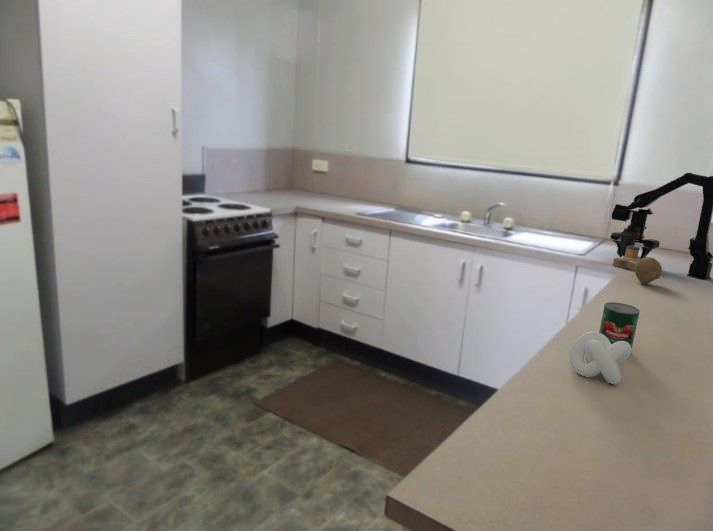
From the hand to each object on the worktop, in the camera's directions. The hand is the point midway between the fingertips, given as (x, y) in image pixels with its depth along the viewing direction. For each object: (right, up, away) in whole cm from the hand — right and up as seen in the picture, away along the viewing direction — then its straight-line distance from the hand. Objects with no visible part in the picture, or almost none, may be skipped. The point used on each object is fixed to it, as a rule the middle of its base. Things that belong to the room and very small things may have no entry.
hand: (630, 259), depth 236 cm
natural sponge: (-11, -9, -33) cm, 36 cm away
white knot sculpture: (-65, -27, -116) cm, 136 cm away
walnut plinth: (-4, -3, -8) cm, 10 cm away
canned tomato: (-54, -23, -99) cm, 115 cm away
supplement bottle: (+6, +2, +17) cm, 19 cm away
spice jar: (0, -1, 0) cm, 2 cm away
